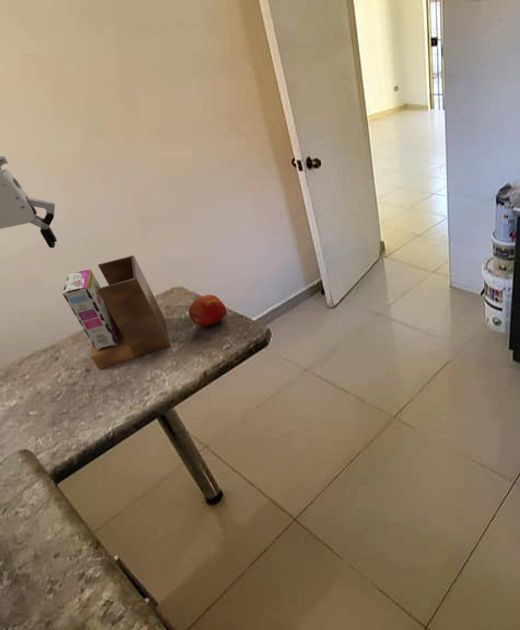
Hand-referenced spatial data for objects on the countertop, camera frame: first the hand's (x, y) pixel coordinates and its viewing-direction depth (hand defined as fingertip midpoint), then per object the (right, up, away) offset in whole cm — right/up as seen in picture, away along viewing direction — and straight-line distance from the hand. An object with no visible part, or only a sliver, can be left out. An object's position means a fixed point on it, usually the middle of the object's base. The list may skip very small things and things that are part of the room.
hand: (25, 252), depth 90 cm
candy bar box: (+3, -19, +20) cm, 28 cm away
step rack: (+7, -20, +24) cm, 32 cm away
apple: (+25, -15, +29) cm, 41 cm away
